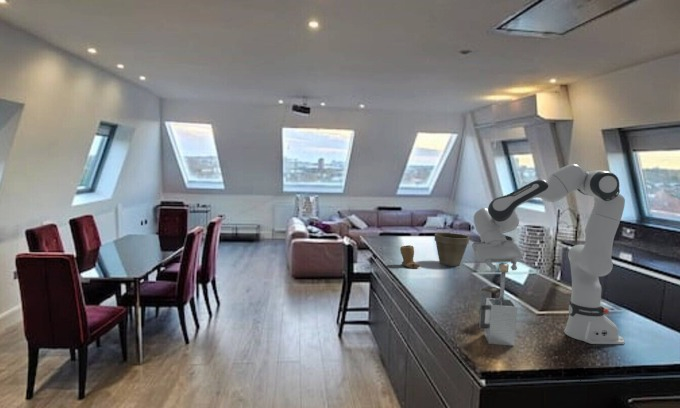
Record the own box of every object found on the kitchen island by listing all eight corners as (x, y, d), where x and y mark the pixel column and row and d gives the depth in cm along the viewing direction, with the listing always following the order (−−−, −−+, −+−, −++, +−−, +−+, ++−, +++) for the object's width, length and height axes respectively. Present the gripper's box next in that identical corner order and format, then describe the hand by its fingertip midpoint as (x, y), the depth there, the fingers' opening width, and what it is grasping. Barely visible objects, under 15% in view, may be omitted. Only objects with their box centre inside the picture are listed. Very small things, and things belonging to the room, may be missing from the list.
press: (508, 336, 185) (510, 299, 184) (514, 345, 175) (517, 307, 174) (476, 333, 187) (479, 297, 185) (481, 342, 177) (483, 304, 176)
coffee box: (492, 327, 195) (494, 292, 194) (478, 323, 199) (480, 289, 198) (499, 322, 202) (501, 288, 201) (485, 318, 206) (487, 285, 205)
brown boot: (397, 264, 316) (398, 243, 315) (413, 264, 318) (414, 243, 317) (404, 269, 301) (405, 247, 300) (420, 268, 303) (421, 247, 302)
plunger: (507, 315, 183) (511, 262, 181) (512, 321, 176) (516, 267, 174) (488, 313, 184) (491, 261, 182) (492, 320, 177) (496, 265, 175)
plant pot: (469, 262, 329) (471, 234, 327) (465, 269, 306) (467, 239, 304) (436, 258, 339) (438, 231, 337) (429, 265, 316) (431, 235, 314)
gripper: (473, 237, 182) (484, 266, 173) (517, 237, 186) (530, 265, 177) (467, 246, 186) (478, 274, 178) (510, 245, 191) (522, 273, 182)
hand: (504, 269), depth 178 cm, fingers open, 8 cm apart
